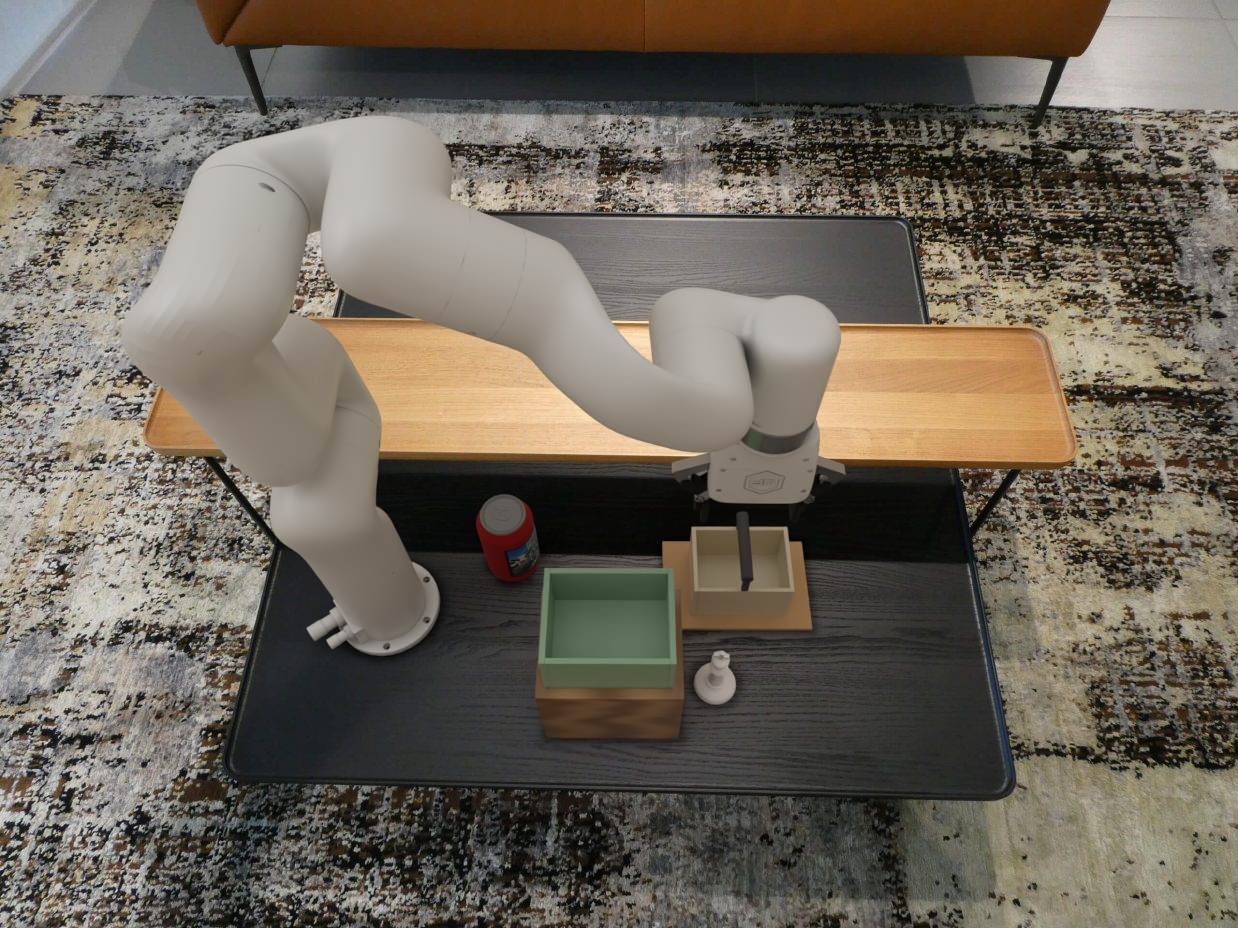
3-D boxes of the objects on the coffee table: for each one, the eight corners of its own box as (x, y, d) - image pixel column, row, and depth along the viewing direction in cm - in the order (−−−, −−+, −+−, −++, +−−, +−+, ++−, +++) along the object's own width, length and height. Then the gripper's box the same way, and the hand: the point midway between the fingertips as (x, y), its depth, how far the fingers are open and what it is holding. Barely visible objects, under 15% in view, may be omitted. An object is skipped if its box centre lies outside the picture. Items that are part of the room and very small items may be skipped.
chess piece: (696, 660, 101) (702, 628, 92) (737, 667, 100) (747, 634, 92) (691, 700, 98) (696, 670, 90) (733, 707, 97) (743, 678, 89)
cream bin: (691, 615, 103) (696, 577, 94) (688, 553, 108) (693, 511, 99) (785, 616, 103) (800, 577, 94) (779, 553, 108) (792, 511, 99)
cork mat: (664, 630, 103) (664, 628, 102) (662, 543, 110) (662, 541, 109) (811, 630, 103) (812, 628, 102) (800, 543, 109) (801, 541, 109)
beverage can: (533, 588, 106) (523, 543, 96) (481, 579, 107) (466, 533, 97) (546, 542, 110) (537, 494, 100) (496, 533, 111) (483, 485, 101)
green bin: (544, 688, 85) (538, 663, 79) (550, 597, 90) (544, 567, 84) (673, 688, 85) (676, 664, 79) (671, 597, 90) (673, 567, 84)
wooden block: (546, 737, 96) (534, 698, 84) (552, 638, 103) (541, 588, 91) (678, 738, 96) (684, 699, 84) (675, 638, 102) (680, 589, 91)
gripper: (678, 447, 74) (667, 540, 88) (874, 450, 74) (832, 542, 88) (676, 381, 78) (666, 480, 93) (861, 384, 78) (823, 482, 93)
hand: (747, 510), depth 91 cm, fingers open, 9 cm apart
